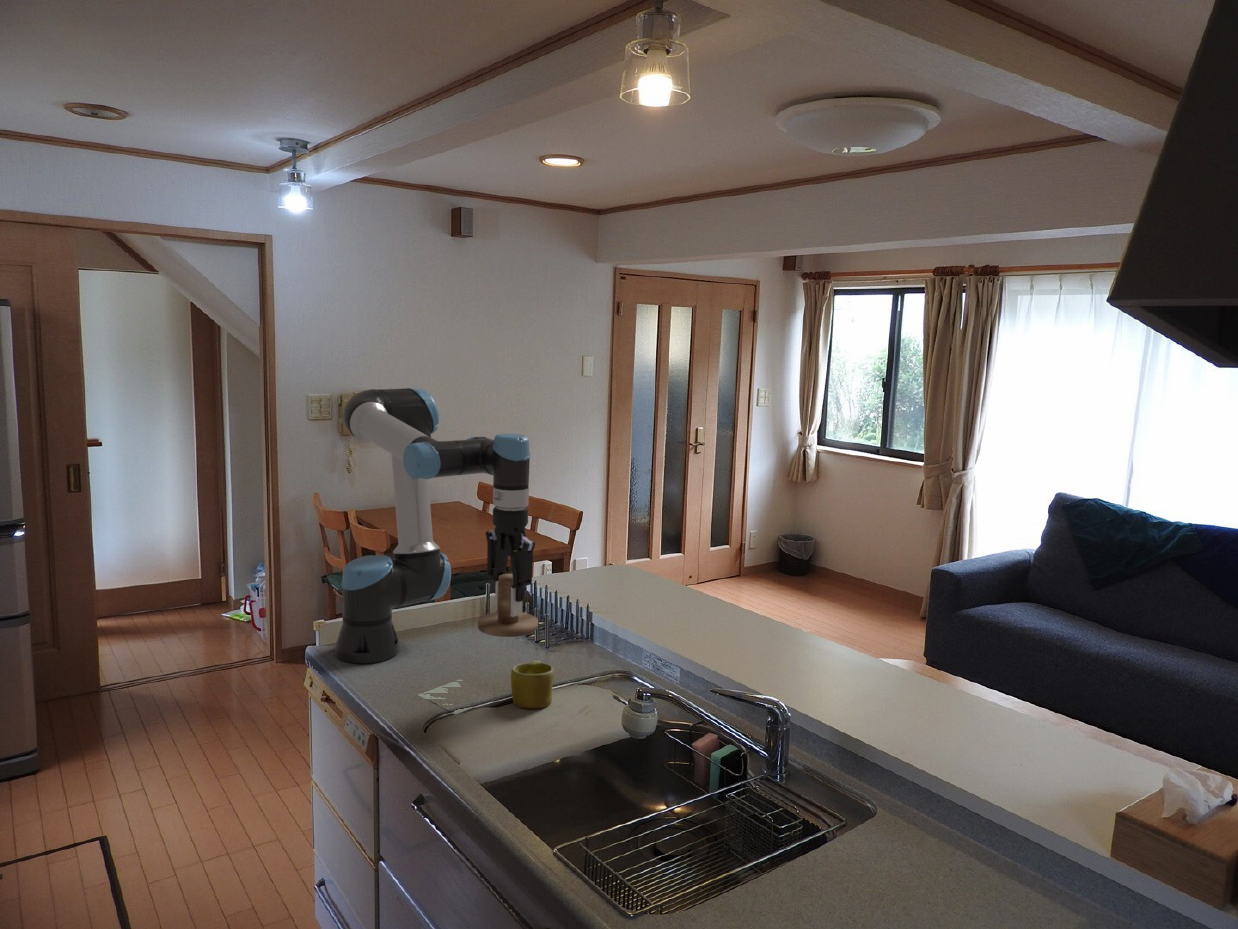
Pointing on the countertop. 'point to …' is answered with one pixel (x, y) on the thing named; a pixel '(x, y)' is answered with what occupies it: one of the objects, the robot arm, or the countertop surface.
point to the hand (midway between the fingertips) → (508, 612)
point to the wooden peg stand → (506, 615)
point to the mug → (532, 685)
